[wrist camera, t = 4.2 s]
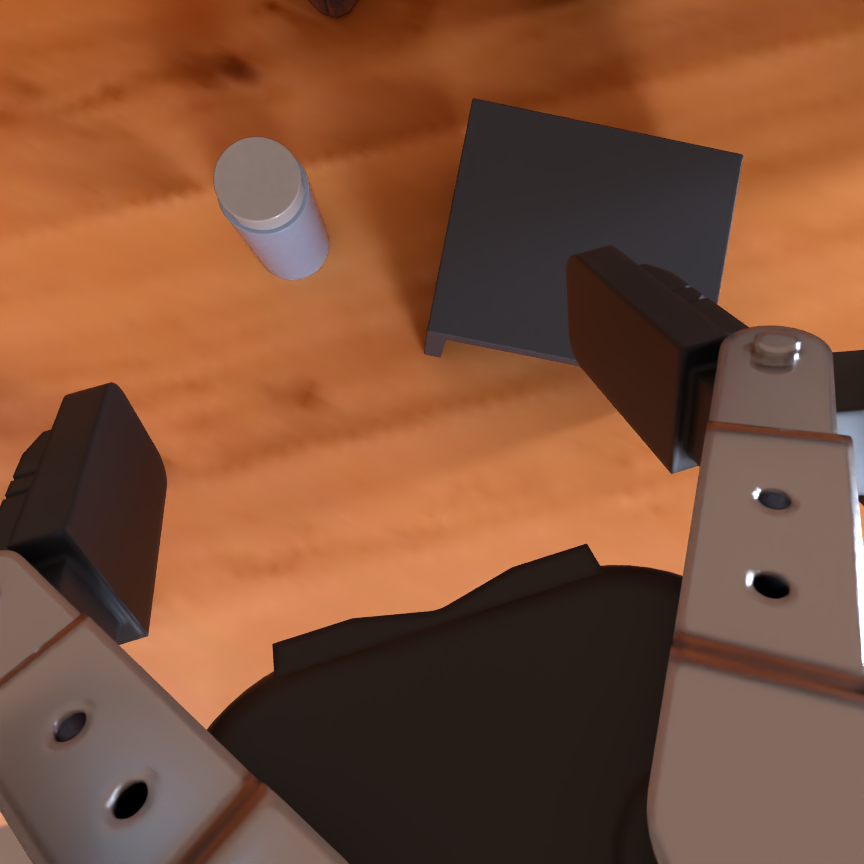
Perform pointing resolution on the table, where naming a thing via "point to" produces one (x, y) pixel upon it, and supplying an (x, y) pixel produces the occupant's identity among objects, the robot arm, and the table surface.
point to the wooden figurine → (333, 6)
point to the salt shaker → (272, 206)
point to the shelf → (568, 222)
